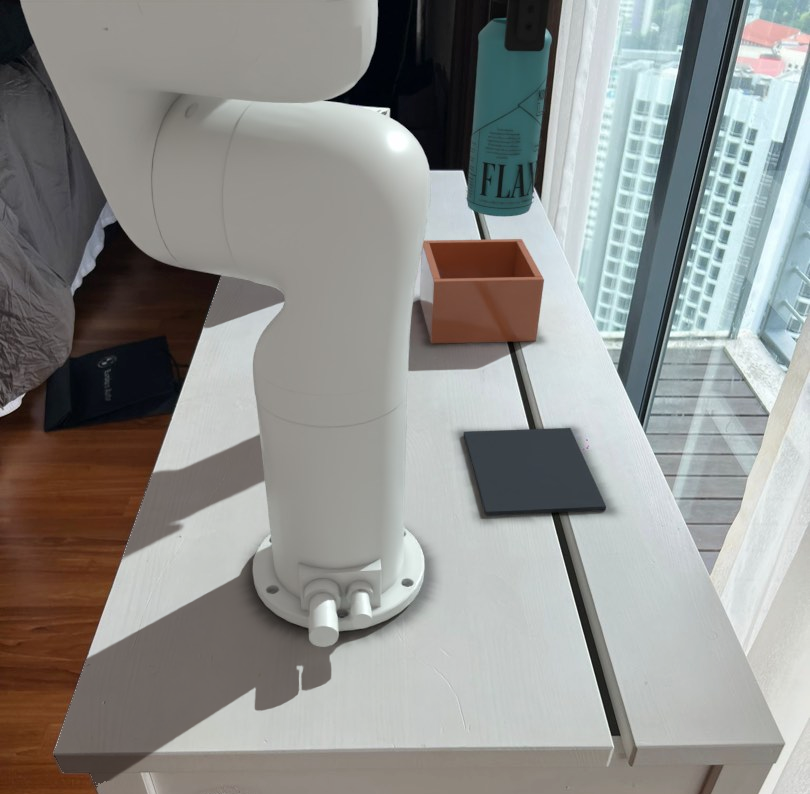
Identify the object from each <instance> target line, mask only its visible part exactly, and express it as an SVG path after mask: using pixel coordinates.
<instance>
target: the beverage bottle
mask: <svg viewBox="0 0 810 794" xmlns="http://www.w3.org/2000/svg"><path fill="white" fill-rule="evenodd" d="M493 1H495V2H498V3H504V4H508V0H493ZM505 29H506V18H497V19H493V20H492V21H490V22H489V23H488V22H487V24H486V25H485V26H484V27H483V28H482V29H481V30H480V31H479V33H478V35H477V36H478V37H477V40H478V41H477V42H478V45H477V46H478V49H477V60H476V61H477V62H476V76H475V77H476V78H475V90H474V91H475V92H474V105H473V121H472V131H471V135H470V137H469V138H470V145H468V148H469V149H470V151H469V158H468V161H467V162H469V163H468V170H467V174H466V175H467V180H466V186H465V188H467V189H466V197H465V200H466V202H467V207H468V208H469V209H470V210H471V211H473V212H475V213H478V214H481V215H484V216H485V215H486V216H491V217H517V216H521V215H524V214H526V213H528V212H529V211H530V210H531V206H532V204H533V203H534V201H535V200H534V199H535V195H536V194H535V188H536V183H537V176H538V171H539V170H538V168H539V167H538V166H539V158H540V156H539V154H540V152H541V151H540V148H541V143H542V135H541V130H542V128H543V125H542V123H543V120H544V117H543V115H544V113H545V111H546V101H547V100H546V99H547V93H548V86H547V78H548V76H549V74H550V71H549V70H550V68H549V66H548V65H549V58H550V51H551V49H550V48H551V45H552V41H553V38H552V34H551V33H550V31H549V30H548V29H547V28H546V34H545V43H544V48H543V50H541V51H508V50H506V49H505V47H504V41H505Z"/></svg>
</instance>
